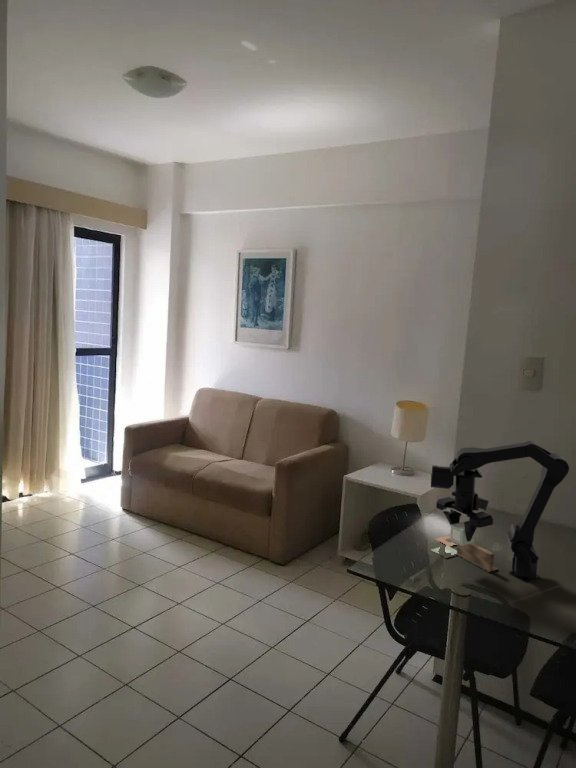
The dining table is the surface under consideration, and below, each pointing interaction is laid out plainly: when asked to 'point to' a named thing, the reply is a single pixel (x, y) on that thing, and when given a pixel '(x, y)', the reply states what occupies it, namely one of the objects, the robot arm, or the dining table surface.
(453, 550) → the sage pad
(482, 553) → the walnut screen
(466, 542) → the sage block
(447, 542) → the terracotta pad
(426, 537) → the dining table surface
